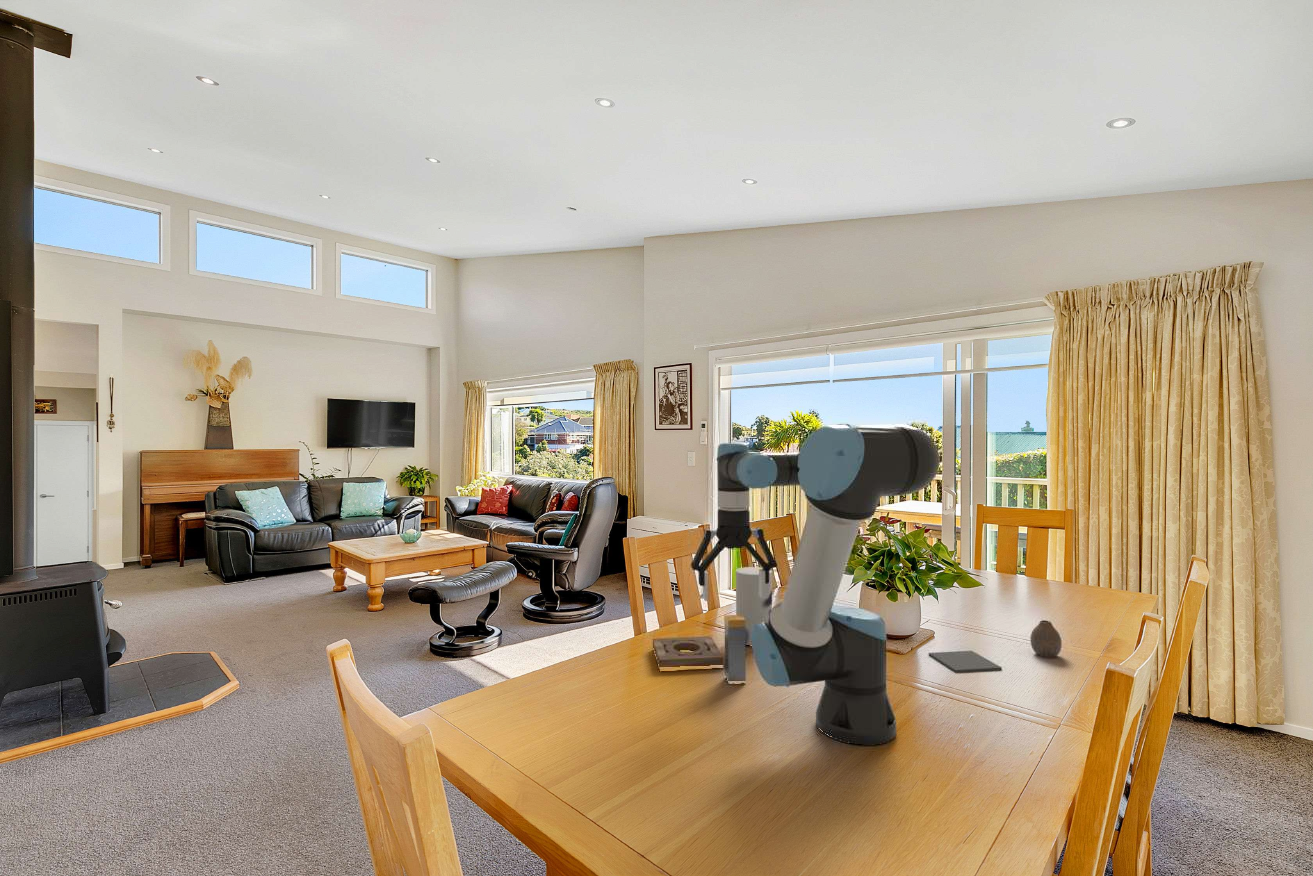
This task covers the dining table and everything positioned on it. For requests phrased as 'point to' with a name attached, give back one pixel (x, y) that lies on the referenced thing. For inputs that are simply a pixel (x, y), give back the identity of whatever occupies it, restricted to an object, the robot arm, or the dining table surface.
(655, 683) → the dining table surface
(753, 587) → the container
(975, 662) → the pad
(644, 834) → the dining table surface
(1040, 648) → the vase
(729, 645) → the key peg
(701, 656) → the block
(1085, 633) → the dining table surface
